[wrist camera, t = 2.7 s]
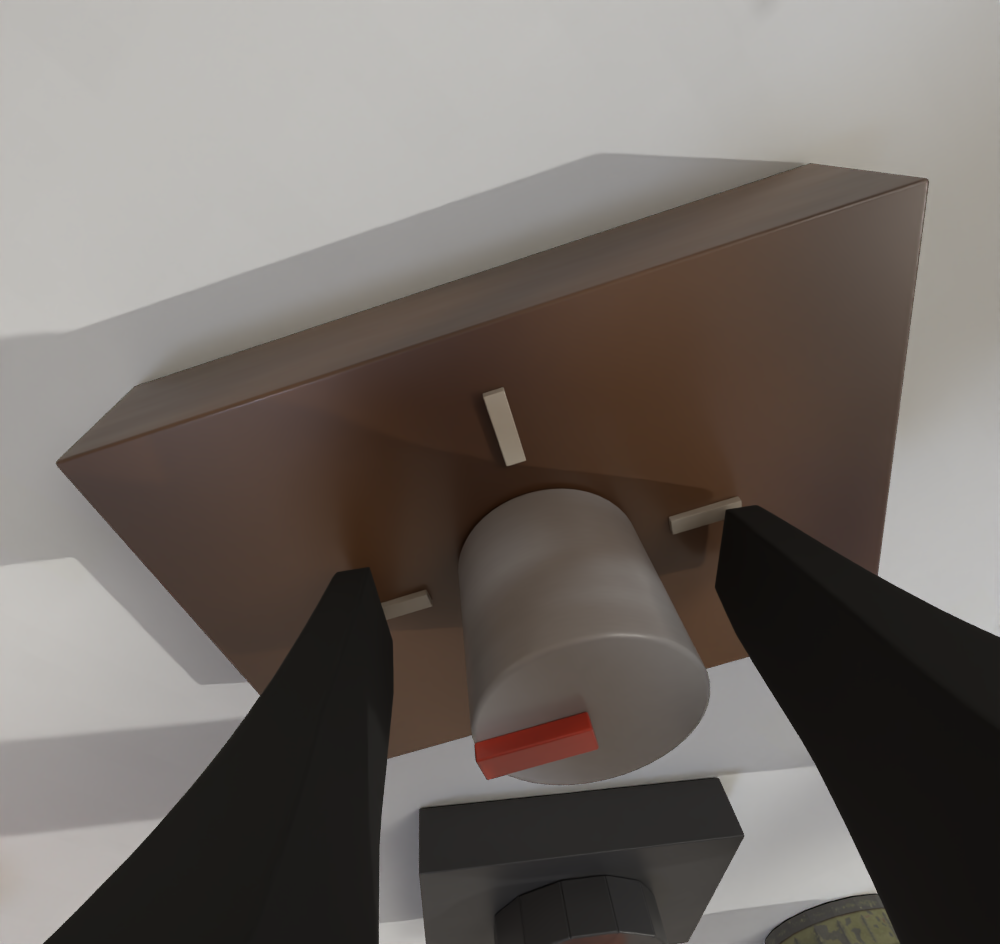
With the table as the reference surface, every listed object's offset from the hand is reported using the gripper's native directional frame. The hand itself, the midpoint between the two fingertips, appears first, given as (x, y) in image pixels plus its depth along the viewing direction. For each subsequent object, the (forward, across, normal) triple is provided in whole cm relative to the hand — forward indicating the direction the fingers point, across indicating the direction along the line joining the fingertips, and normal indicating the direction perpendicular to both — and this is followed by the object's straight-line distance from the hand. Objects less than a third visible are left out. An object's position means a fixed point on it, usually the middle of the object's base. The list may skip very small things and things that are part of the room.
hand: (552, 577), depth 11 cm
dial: (0, 0, 0) cm, 0 cm away
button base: (+3, 0, +20) cm, 20 cm away
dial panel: (+3, 0, 0) cm, 3 cm away
